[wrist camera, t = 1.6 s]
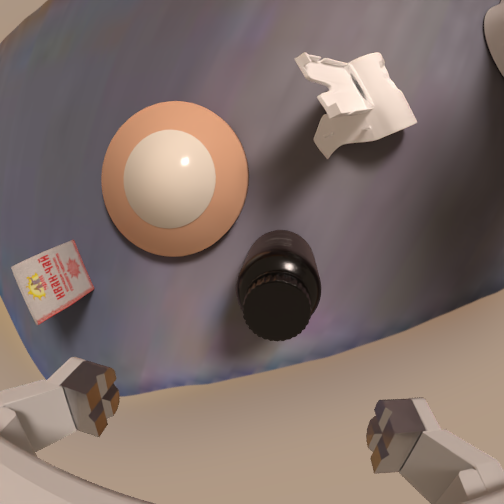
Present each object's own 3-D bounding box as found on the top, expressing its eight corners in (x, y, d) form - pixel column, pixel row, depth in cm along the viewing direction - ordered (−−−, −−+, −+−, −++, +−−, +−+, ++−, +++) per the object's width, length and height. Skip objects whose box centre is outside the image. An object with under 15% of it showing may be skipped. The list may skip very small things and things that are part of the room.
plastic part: (408, 125, 28) (462, 108, 17) (324, 162, 30) (345, 158, 19) (374, 61, 27) (412, 16, 16) (289, 95, 29) (290, 56, 18)
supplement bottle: (238, 276, 34) (212, 330, 23) (264, 217, 32) (249, 245, 21) (297, 302, 34) (298, 366, 23) (325, 246, 32) (344, 288, 21)
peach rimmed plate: (245, 96, 29) (243, 92, 28) (252, 252, 33) (249, 256, 32) (106, 116, 31) (98, 114, 30) (115, 253, 35) (108, 257, 34)
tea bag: (76, 295, 38) (28, 327, 28) (56, 249, 36) (3, 271, 27) (94, 288, 37) (46, 322, 27) (73, 239, 36) (19, 261, 26)
